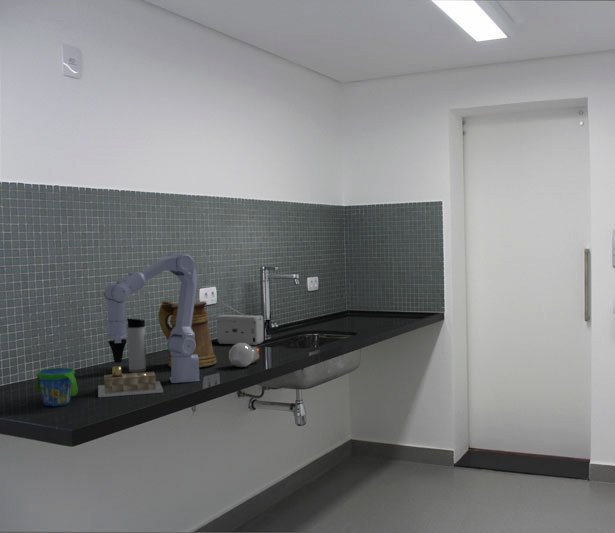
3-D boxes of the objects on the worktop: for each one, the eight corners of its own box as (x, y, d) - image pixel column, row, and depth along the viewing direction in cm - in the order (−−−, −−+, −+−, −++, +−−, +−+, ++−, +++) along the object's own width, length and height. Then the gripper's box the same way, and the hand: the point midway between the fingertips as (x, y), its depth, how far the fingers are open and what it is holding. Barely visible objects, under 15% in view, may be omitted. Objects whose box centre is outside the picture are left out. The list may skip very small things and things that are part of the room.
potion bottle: (231, 373, 269) (250, 370, 283) (250, 359, 266) (269, 357, 280) (219, 352, 272) (239, 350, 286) (238, 337, 269) (257, 337, 283)
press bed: (159, 384, 245) (159, 381, 245) (163, 392, 231) (163, 389, 231) (98, 388, 239) (98, 385, 239) (98, 397, 226) (98, 394, 226)
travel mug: (124, 371, 269) (123, 318, 268) (139, 368, 273) (138, 316, 273) (134, 373, 264) (132, 319, 264) (149, 370, 269) (148, 317, 268)
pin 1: (121, 376, 236) (121, 366, 235) (121, 378, 233) (121, 367, 233) (112, 377, 235) (112, 366, 235) (112, 379, 232) (112, 368, 232)
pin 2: (146, 383, 238) (146, 373, 238) (147, 385, 235) (146, 374, 235) (137, 384, 237) (137, 373, 237) (138, 386, 235) (138, 375, 234)
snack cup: (88, 403, 217) (87, 370, 217) (58, 411, 209) (56, 376, 208) (56, 397, 226) (55, 365, 226) (26, 404, 218) (25, 371, 217)
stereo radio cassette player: (264, 343, 333) (263, 300, 332) (256, 346, 325) (255, 302, 324) (224, 341, 340) (223, 299, 339) (215, 344, 332) (214, 301, 332)
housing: (154, 383, 241) (153, 371, 241) (155, 387, 234) (155, 375, 234) (104, 387, 236) (104, 375, 236) (104, 391, 230) (104, 379, 229)
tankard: (204, 370, 268) (203, 303, 267) (148, 368, 275) (146, 303, 273) (223, 362, 285) (222, 299, 284) (169, 360, 292) (168, 298, 291)
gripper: (103, 318, 239) (104, 359, 240) (104, 323, 225) (105, 366, 226) (125, 317, 241) (126, 358, 242) (127, 322, 227) (128, 365, 228)
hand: (117, 362), depth 234 cm, fingers closed
